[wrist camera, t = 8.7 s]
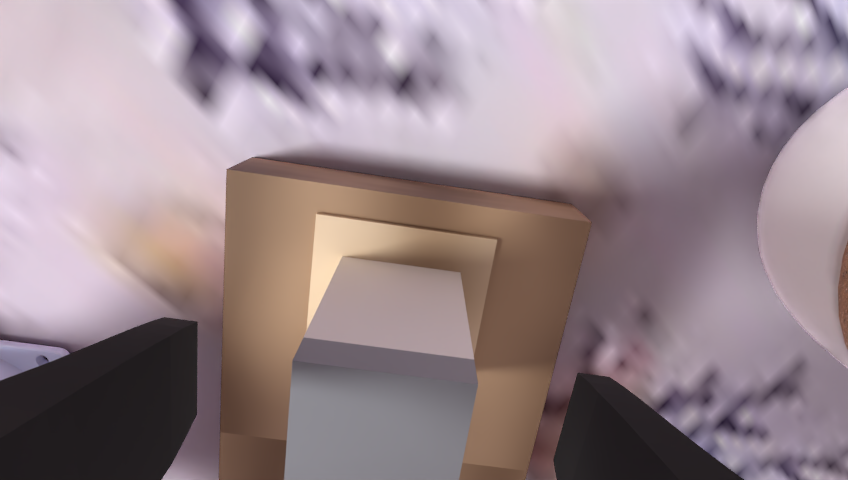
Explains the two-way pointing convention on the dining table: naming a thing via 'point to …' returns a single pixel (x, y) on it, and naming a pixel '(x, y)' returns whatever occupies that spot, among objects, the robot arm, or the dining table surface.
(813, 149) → the lidded jar
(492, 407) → the board
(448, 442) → the plug
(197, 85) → the dining table surface
